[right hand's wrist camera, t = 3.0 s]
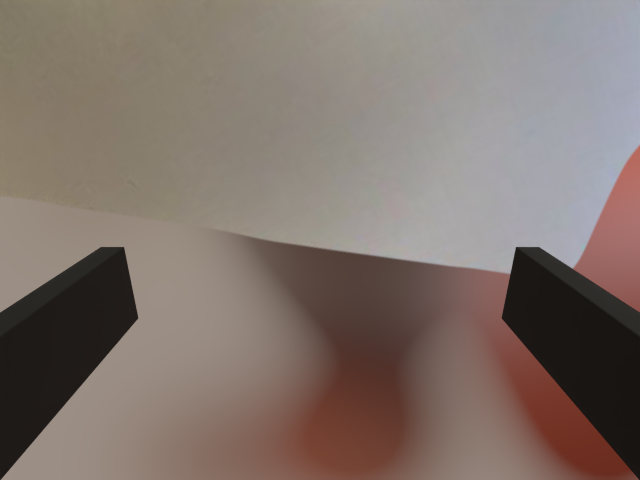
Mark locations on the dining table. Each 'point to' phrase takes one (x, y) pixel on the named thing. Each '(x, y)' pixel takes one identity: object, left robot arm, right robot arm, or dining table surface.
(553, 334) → the right robot arm
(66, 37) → the dining table surface
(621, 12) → the dining table surface
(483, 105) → the dining table surface
